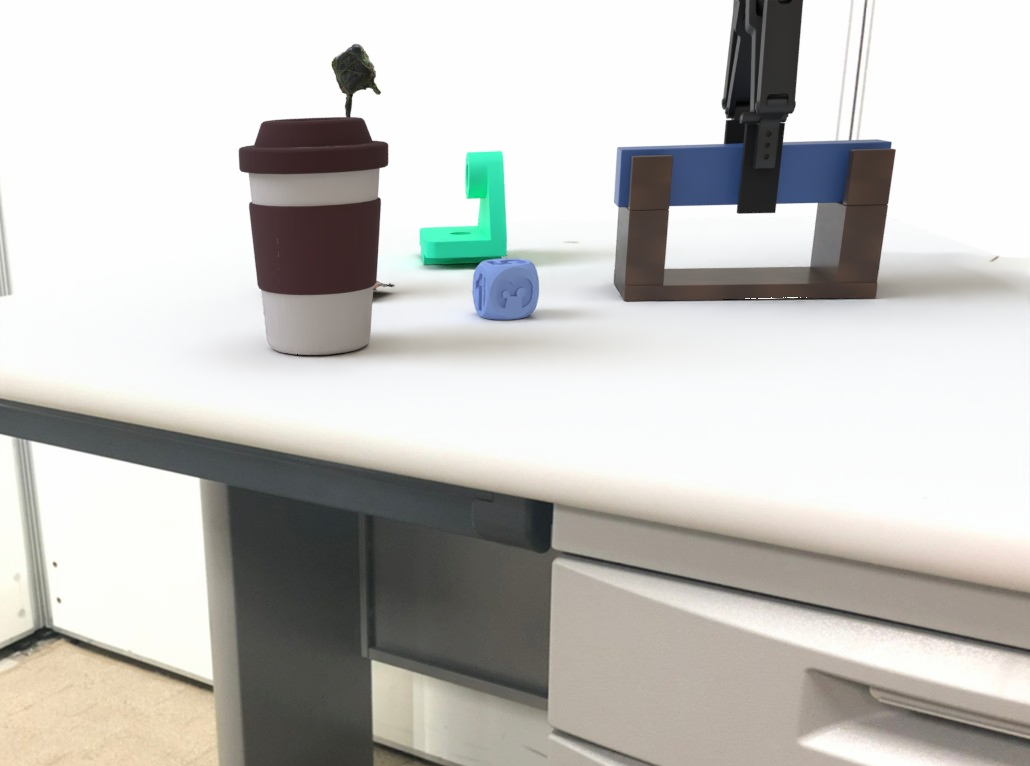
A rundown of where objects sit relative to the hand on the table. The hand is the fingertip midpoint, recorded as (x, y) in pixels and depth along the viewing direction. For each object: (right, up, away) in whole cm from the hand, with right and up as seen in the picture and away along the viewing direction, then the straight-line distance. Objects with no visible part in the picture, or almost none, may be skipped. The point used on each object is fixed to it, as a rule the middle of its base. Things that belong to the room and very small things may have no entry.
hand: (745, 207), depth 96 cm
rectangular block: (0, 0, 0) cm, 0 cm away
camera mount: (-19, +2, +24) cm, 31 cm away
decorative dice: (-20, -10, -4) cm, 23 cm away
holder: (0, -6, +2) cm, 7 cm away
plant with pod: (-33, -6, +8) cm, 35 cm away
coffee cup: (-35, -13, -12) cm, 39 cm away
